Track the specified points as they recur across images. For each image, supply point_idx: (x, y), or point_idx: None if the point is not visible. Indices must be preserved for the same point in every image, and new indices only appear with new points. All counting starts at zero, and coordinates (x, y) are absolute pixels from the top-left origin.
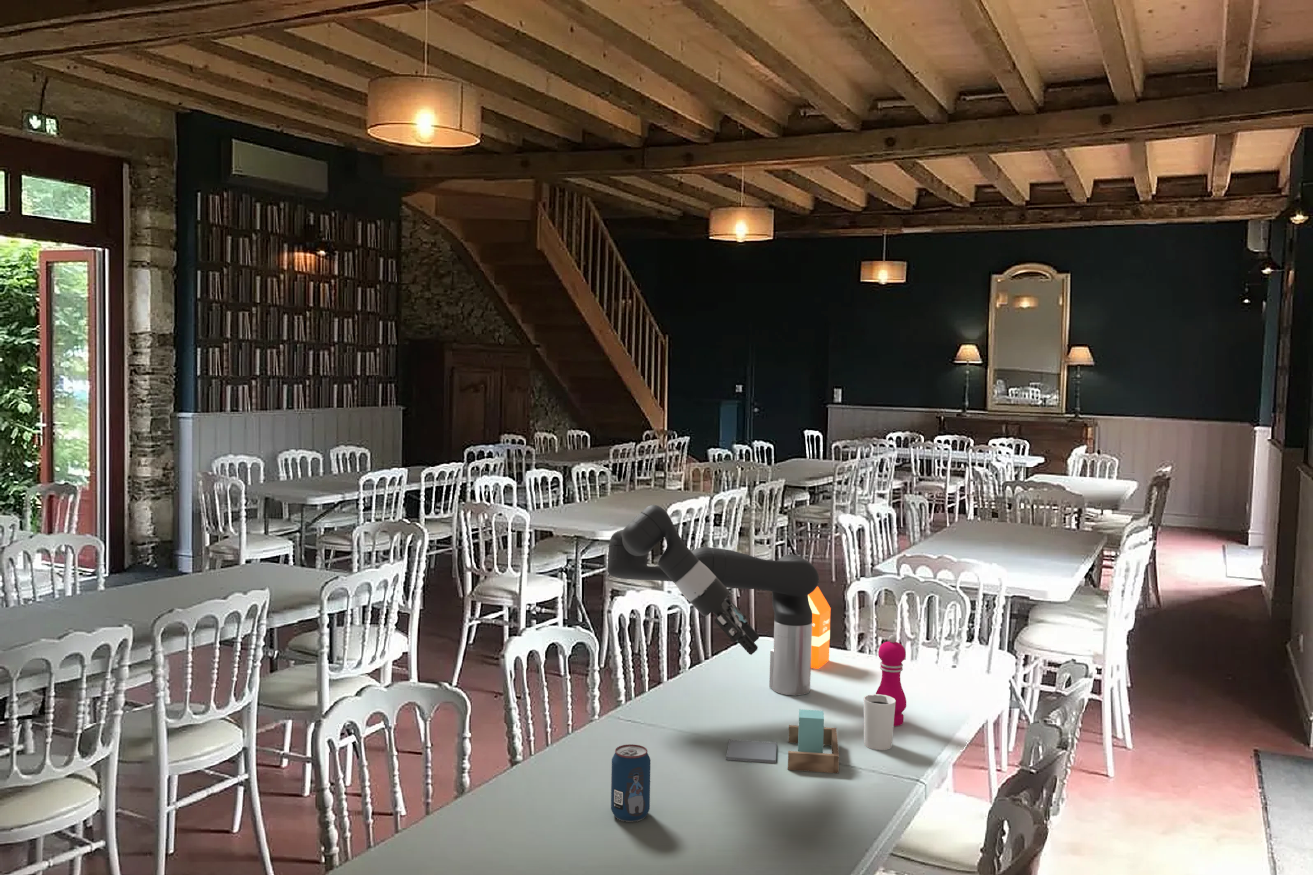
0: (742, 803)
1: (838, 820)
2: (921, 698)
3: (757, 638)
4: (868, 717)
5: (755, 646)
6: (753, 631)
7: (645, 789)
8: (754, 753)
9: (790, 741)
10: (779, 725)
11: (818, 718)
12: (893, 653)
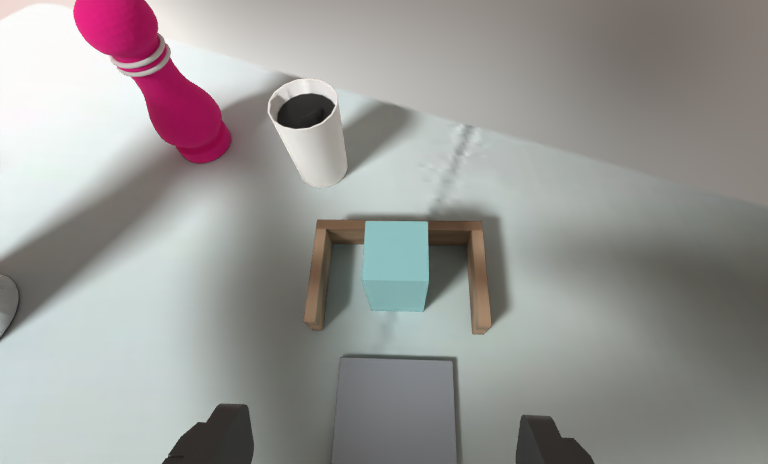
0: (712, 444)
1: (694, 246)
2: (96, 92)
3: (246, 416)
4: (328, 146)
5: (557, 434)
6: (215, 457)
7: None
8: (420, 415)
9: (322, 324)
10: (212, 349)
11: (427, 233)
12: (144, 12)
